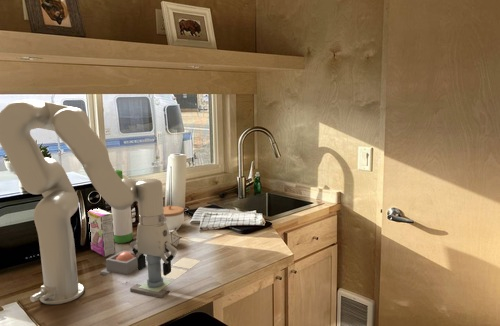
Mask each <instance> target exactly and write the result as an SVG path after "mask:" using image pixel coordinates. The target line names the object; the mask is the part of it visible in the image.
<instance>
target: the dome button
mask: <svg viewBox="0 0 500 326" xmlns="http://www.w3.org/2000/svg"><path fill="white" fill-rule="evenodd" d="M132 258H134V256H133V255H132V254H131V253H129V252H122V253H120V254H119V255H118V257H117V258H116V260H119V261H125V262H127V261H128V260H130V259H132Z"/></svg>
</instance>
